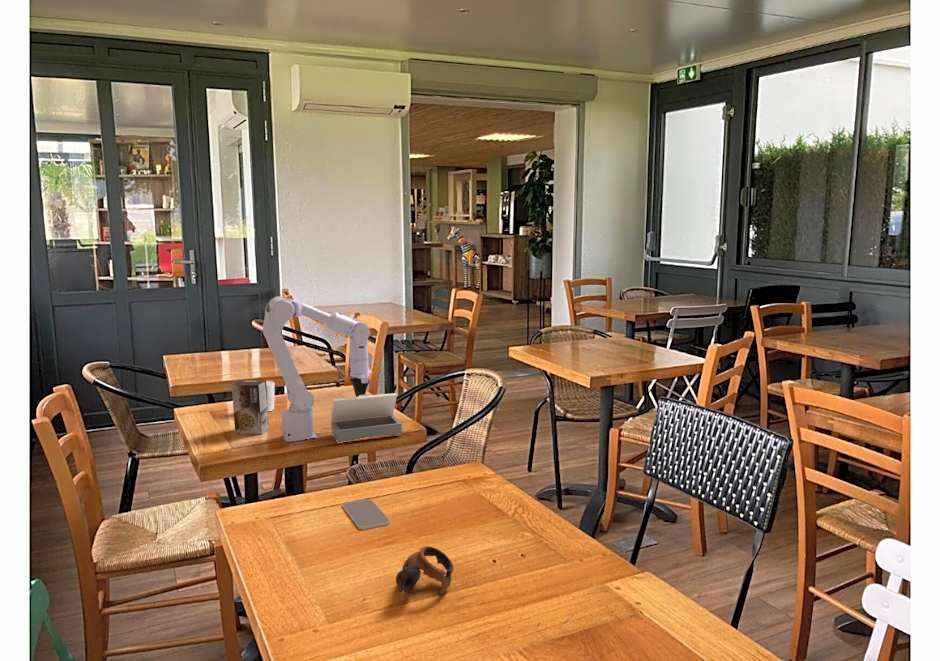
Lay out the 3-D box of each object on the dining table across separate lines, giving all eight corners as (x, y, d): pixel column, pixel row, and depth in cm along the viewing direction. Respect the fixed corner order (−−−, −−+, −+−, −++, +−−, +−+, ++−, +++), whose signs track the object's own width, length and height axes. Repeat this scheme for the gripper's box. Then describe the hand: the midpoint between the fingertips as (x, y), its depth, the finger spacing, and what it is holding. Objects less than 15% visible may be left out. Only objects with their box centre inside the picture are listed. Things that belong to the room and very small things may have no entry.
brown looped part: (412, 571, 138) (433, 538, 136) (445, 606, 133) (467, 572, 132) (374, 583, 127) (396, 547, 126) (408, 621, 123) (432, 584, 121)
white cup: (251, 409, 251) (249, 382, 249) (273, 406, 254) (272, 379, 253) (254, 415, 244) (252, 386, 242) (277, 412, 247) (276, 384, 245)
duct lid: (333, 401, 215) (333, 397, 216) (331, 421, 222) (330, 418, 222) (397, 394, 222) (396, 391, 223) (392, 415, 229) (391, 411, 230)
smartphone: (371, 498, 171) (392, 521, 158) (371, 501, 171) (392, 525, 158) (341, 503, 168) (359, 527, 155) (341, 507, 168) (360, 531, 155)
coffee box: (269, 428, 228) (267, 380, 226) (261, 434, 222) (259, 384, 219) (242, 427, 229) (239, 379, 227) (234, 433, 223) (231, 384, 220)
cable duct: (337, 443, 213) (337, 431, 212) (331, 434, 222) (331, 422, 222) (401, 436, 220) (401, 423, 220) (393, 427, 229) (392, 415, 229)
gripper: (377, 362, 219) (378, 404, 221) (366, 353, 232) (367, 393, 235) (354, 364, 216) (356, 407, 219) (344, 355, 230) (346, 396, 232)
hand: (360, 400), depth 226 cm, fingers closed
